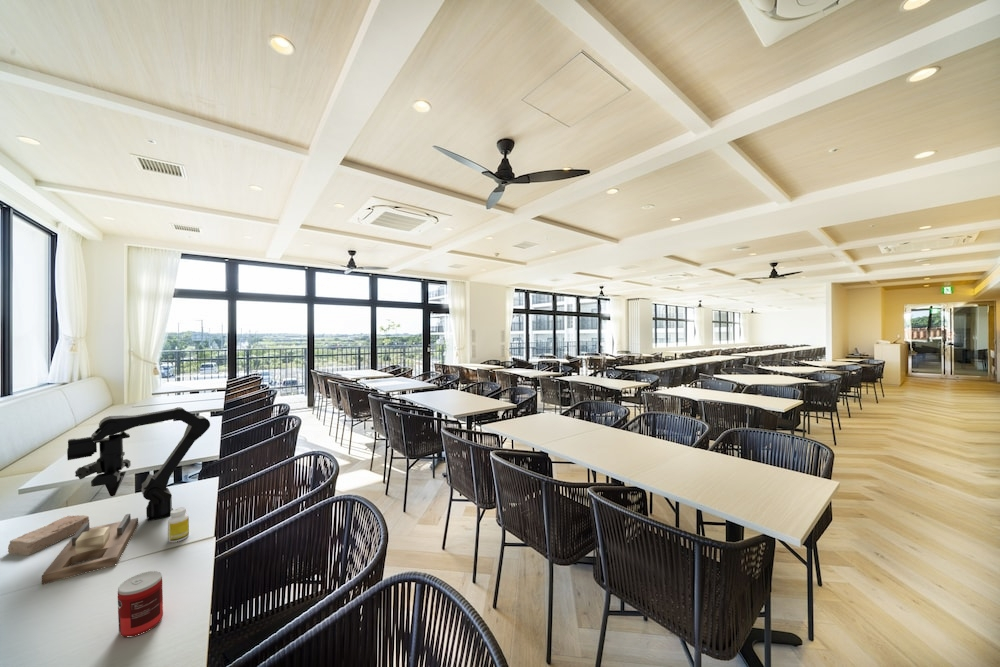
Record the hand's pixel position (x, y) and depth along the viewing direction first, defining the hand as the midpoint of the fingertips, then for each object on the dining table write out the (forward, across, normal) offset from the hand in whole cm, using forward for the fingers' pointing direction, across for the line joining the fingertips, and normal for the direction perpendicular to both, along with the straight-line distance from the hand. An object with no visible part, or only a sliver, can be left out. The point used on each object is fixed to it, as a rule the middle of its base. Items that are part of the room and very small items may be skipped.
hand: (112, 495), depth 132 cm
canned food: (+12, +64, +18) cm, 68 cm away
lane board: (+12, +15, -1) cm, 19 cm away
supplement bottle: (+12, +21, +20) cm, 31 cm away
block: (+10, +17, -1) cm, 19 cm away
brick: (+13, -3, -16) cm, 20 cm away
